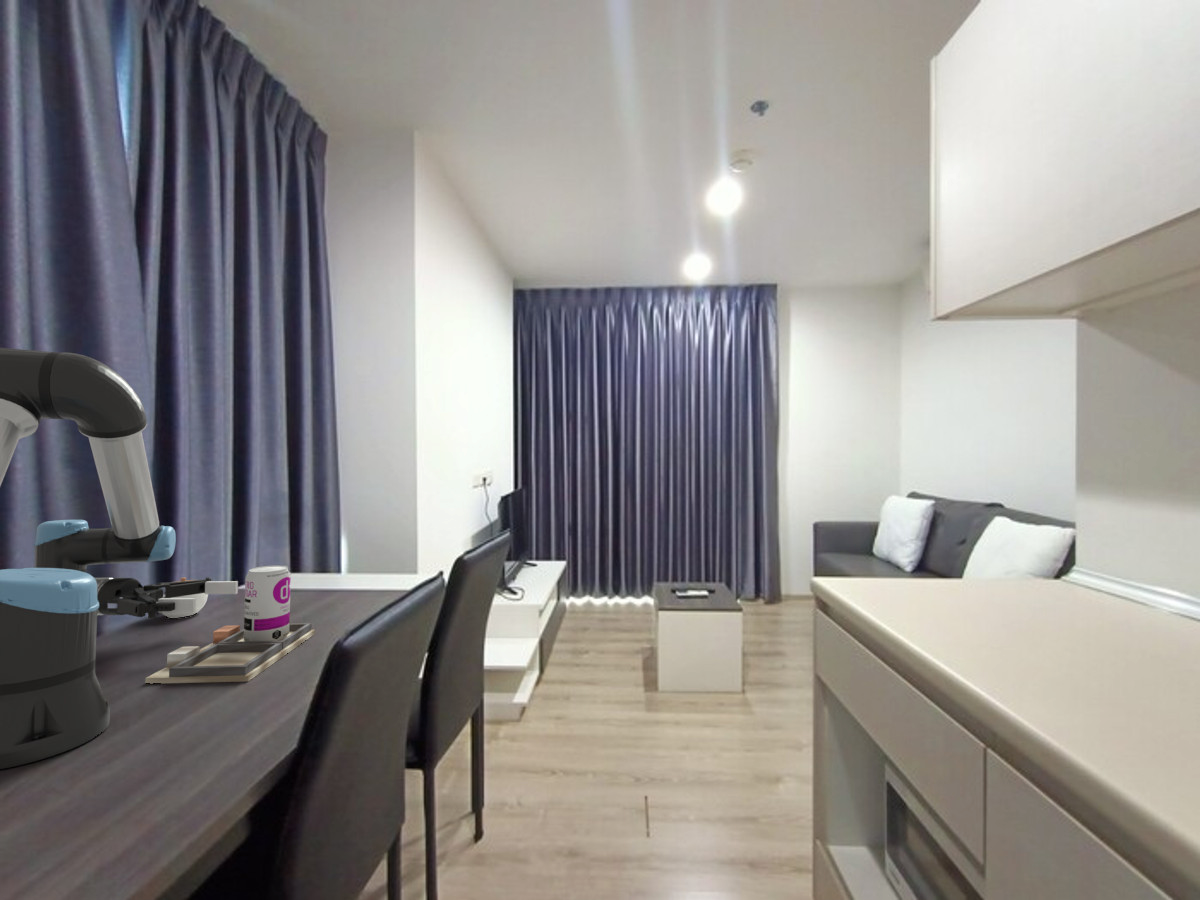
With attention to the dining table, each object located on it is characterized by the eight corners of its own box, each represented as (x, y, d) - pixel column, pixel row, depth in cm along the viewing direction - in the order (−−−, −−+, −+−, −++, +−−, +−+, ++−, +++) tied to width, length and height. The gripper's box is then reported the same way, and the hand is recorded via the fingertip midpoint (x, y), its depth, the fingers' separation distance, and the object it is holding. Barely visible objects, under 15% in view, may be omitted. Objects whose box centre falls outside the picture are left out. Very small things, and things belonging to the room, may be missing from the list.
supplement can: (297, 634, 115) (299, 565, 116) (270, 647, 107) (272, 573, 107) (262, 632, 116) (264, 564, 116) (233, 645, 108) (235, 572, 108)
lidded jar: (144, 622, 126) (145, 583, 126) (169, 610, 136) (170, 574, 136) (195, 620, 128) (197, 581, 128) (216, 608, 139) (217, 572, 139)
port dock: (248, 681, 93) (248, 661, 93) (145, 683, 91) (145, 663, 91) (315, 633, 119) (315, 618, 119) (235, 635, 117) (236, 619, 117)
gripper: (155, 597, 122) (251, 597, 123) (51, 635, 97) (172, 634, 98) (156, 565, 122) (251, 565, 123) (52, 594, 97) (173, 594, 98)
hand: (217, 596), depth 111 cm, fingers open, 13 cm apart
